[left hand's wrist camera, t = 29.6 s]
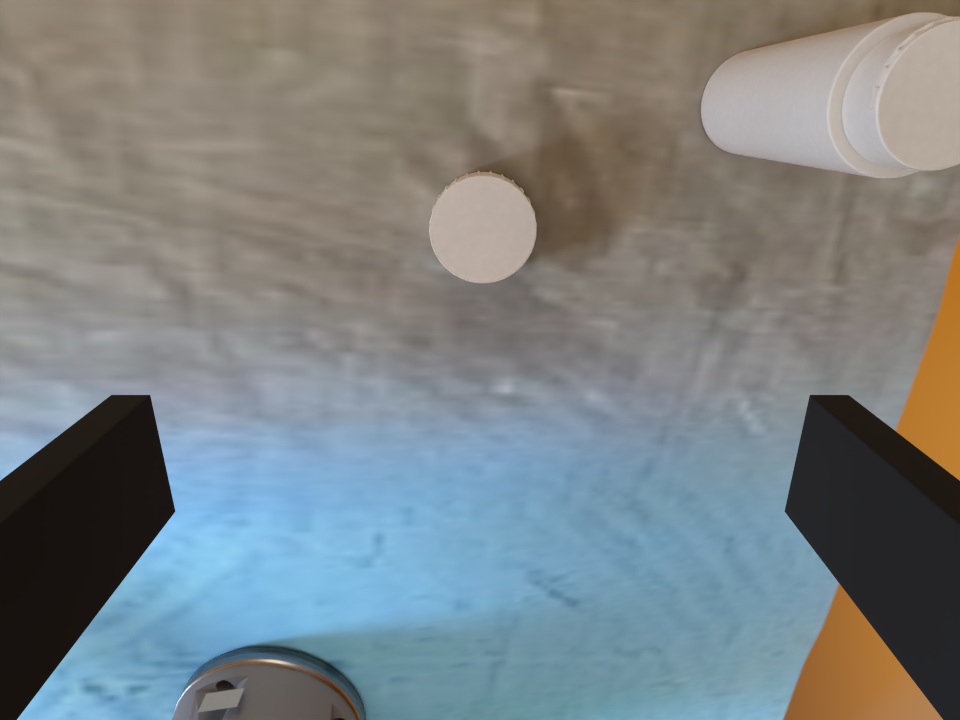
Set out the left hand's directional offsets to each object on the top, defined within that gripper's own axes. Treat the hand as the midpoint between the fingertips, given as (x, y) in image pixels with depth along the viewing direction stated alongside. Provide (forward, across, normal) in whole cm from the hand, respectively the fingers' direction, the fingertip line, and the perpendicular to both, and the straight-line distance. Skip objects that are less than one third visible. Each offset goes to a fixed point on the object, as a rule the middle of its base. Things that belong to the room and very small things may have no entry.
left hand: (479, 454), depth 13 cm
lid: (+24, 0, 0) cm, 25 cm away
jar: (+27, +15, +7) cm, 31 cm away
